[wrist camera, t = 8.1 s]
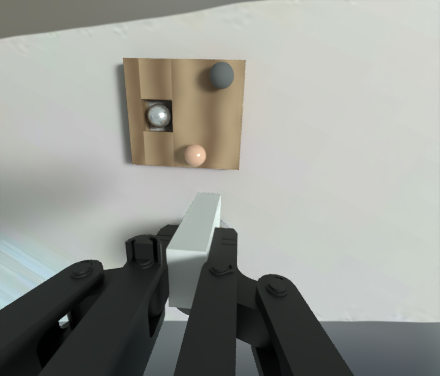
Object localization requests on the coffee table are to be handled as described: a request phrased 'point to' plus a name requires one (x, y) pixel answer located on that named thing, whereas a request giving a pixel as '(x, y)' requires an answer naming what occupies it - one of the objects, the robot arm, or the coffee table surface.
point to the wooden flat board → (184, 111)
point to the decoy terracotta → (195, 155)
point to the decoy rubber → (221, 75)
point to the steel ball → (159, 115)
